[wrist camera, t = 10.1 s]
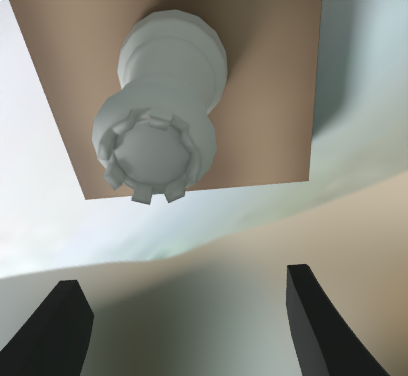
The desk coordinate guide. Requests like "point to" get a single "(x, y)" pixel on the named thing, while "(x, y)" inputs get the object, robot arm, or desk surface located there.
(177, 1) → the walnut block
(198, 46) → the rook chess piece
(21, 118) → the desk surface
